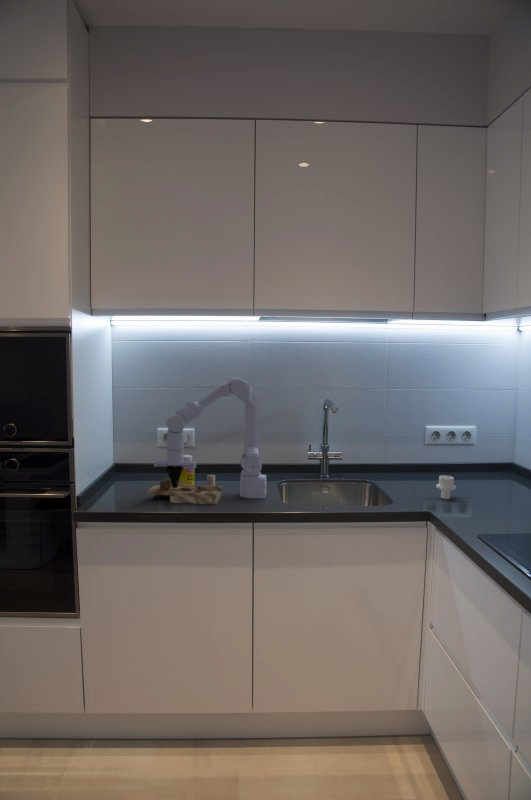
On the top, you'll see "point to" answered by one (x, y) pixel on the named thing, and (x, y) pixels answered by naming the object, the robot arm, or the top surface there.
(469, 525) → the top surface
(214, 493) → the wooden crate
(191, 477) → the supplement bottle
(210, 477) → the pin
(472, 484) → the top surface
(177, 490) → the lid
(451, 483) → the pipe fitting
